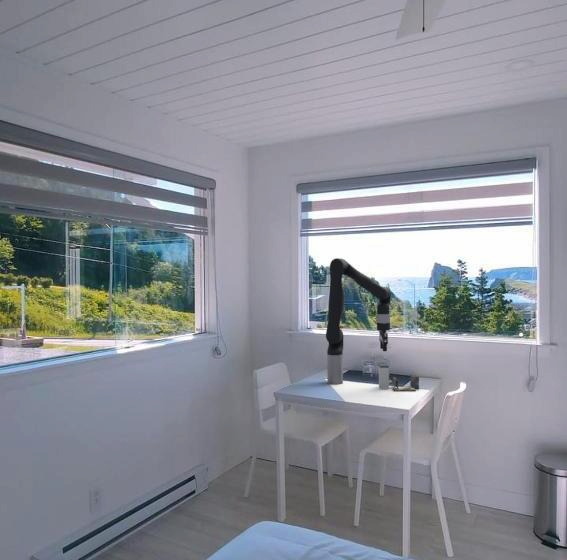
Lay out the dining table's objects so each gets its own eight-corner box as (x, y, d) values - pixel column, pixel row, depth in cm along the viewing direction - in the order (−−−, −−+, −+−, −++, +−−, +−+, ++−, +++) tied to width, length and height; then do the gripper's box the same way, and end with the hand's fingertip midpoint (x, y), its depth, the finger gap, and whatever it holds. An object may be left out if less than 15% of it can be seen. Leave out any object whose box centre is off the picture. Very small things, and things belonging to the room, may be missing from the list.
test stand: (393, 391, 270) (393, 378, 270) (389, 385, 283) (389, 374, 283) (421, 391, 269) (421, 378, 269) (415, 385, 282) (415, 373, 282)
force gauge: (380, 388, 277) (380, 366, 276) (378, 386, 282) (378, 364, 281) (392, 388, 276) (392, 365, 276) (391, 386, 281) (390, 364, 281)
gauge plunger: (397, 388, 271) (397, 381, 271) (393, 383, 283) (393, 376, 283) (399, 388, 271) (399, 381, 271) (395, 383, 283) (395, 376, 283)
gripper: (374, 320, 286) (375, 348, 286) (378, 323, 272) (379, 352, 272) (387, 320, 286) (387, 348, 286) (392, 323, 271) (392, 351, 272)
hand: (383, 349), depth 279 cm, fingers open, 8 cm apart
